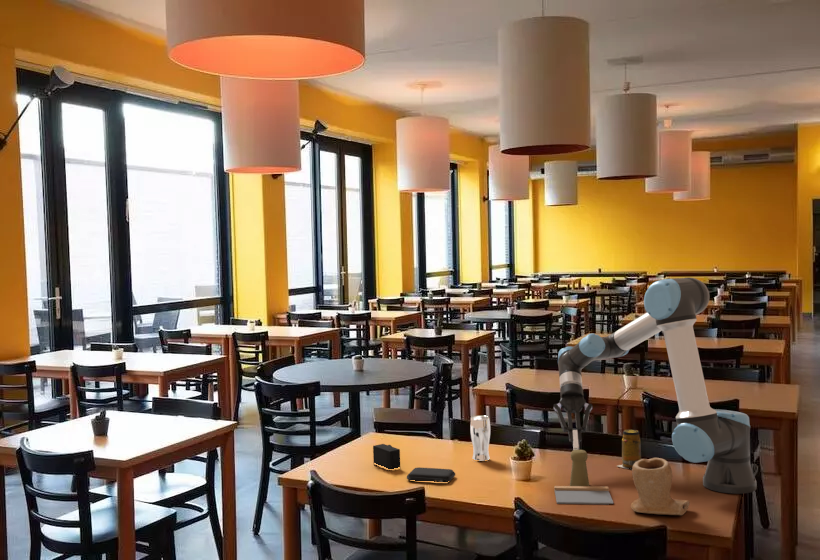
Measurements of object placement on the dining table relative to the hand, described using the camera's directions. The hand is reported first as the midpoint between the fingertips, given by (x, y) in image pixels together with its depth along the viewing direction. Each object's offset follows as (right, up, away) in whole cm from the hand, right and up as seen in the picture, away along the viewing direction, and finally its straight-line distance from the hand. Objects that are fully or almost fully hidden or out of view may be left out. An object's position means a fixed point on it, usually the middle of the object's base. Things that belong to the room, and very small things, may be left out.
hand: (576, 449), depth 251 cm
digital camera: (-60, -11, +21) cm, 65 cm away
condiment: (+22, -9, +13) cm, 27 cm away
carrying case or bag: (-46, -11, +5) cm, 48 cm away
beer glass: (-28, -9, +27) cm, 40 cm away
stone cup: (+16, -11, -33) cm, 38 cm away
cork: (0, -10, -6) cm, 12 cm away
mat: (-2, -10, -17) cm, 20 cm away
